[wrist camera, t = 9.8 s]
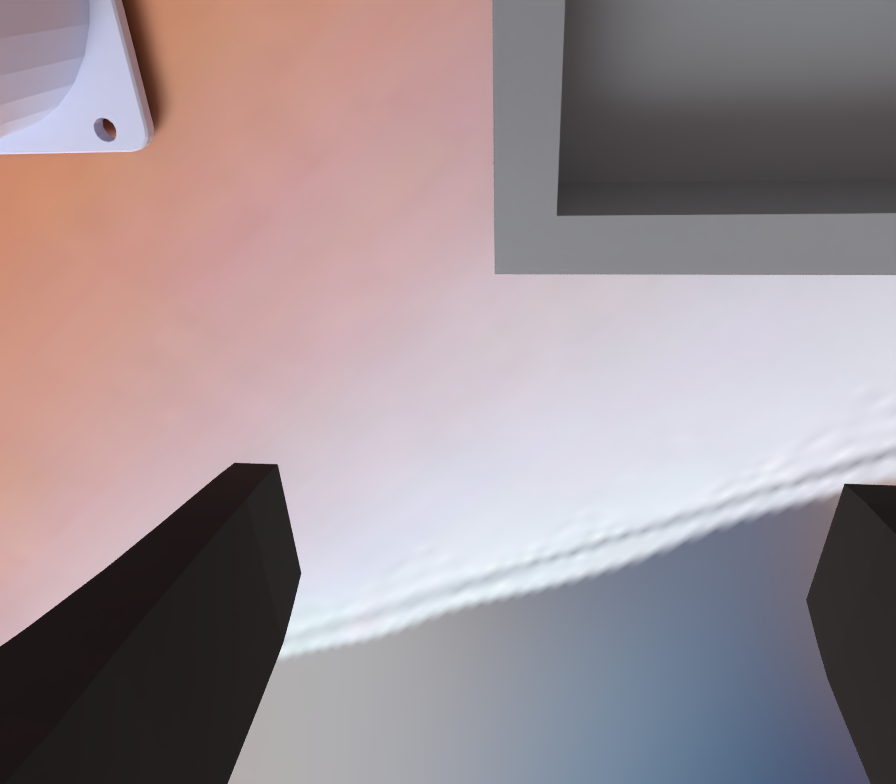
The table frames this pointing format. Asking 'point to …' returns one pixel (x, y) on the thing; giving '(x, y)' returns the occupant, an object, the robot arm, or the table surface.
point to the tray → (695, 137)
